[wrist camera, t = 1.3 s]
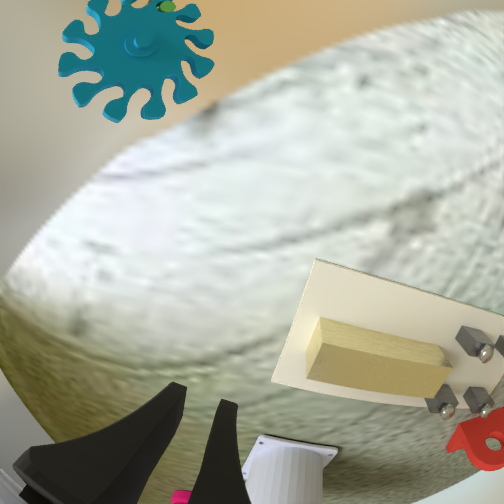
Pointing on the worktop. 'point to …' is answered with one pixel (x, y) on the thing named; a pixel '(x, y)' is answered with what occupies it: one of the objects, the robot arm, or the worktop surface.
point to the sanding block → (374, 360)
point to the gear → (137, 54)
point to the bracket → (481, 440)
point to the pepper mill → (180, 497)
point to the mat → (388, 330)
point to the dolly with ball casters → (474, 396)
